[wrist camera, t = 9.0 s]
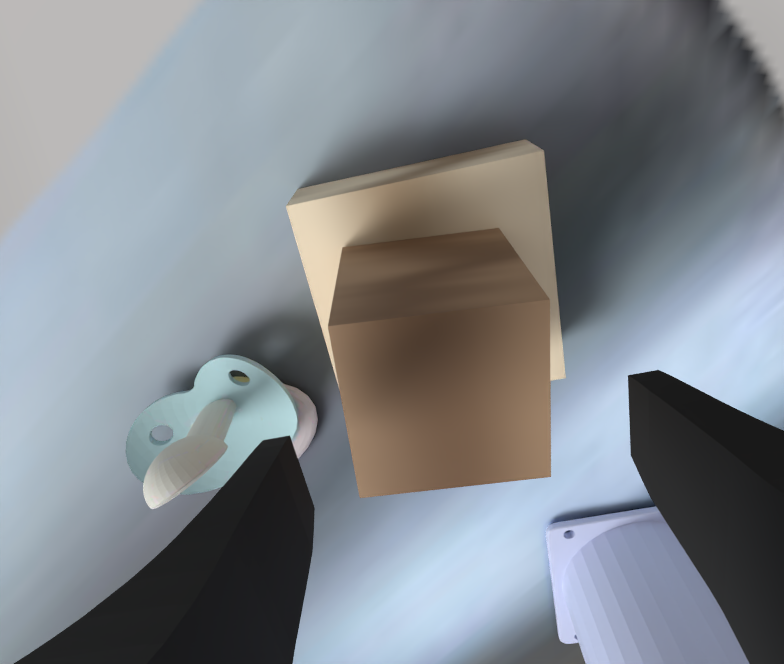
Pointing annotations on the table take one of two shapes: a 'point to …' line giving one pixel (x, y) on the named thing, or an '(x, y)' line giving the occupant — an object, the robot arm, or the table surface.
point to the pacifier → (215, 428)
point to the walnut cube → (442, 363)
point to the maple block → (432, 217)
